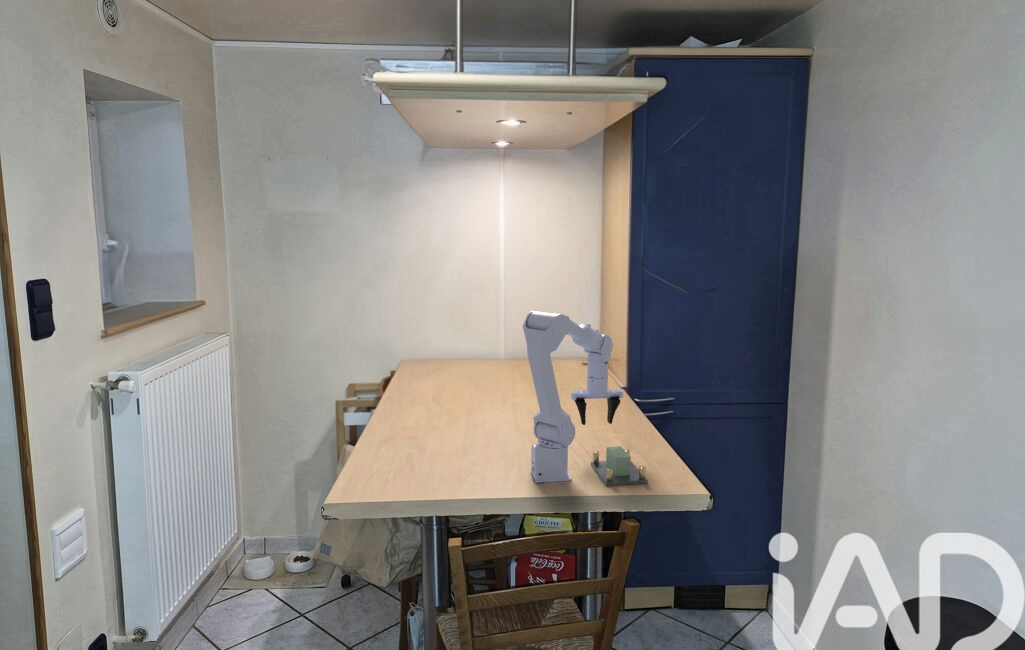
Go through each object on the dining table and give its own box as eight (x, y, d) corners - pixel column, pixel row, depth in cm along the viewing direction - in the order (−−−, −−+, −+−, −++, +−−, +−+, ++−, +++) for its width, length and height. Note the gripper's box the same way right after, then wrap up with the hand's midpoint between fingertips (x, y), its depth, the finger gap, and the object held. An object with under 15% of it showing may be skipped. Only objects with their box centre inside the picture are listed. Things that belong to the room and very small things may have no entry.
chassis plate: (605, 486, 176) (606, 471, 175) (590, 465, 190) (590, 451, 189) (647, 483, 177) (648, 468, 177) (629, 462, 192) (629, 449, 191)
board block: (615, 476, 180) (615, 457, 179) (606, 464, 187) (606, 447, 187) (630, 475, 180) (630, 456, 179) (620, 464, 188) (620, 446, 187)
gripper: (618, 371, 199) (617, 417, 201) (568, 373, 196) (567, 420, 199) (626, 377, 192) (624, 425, 194) (574, 379, 189) (574, 427, 192)
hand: (596, 423), depth 196 cm, fingers open, 7 cm apart
